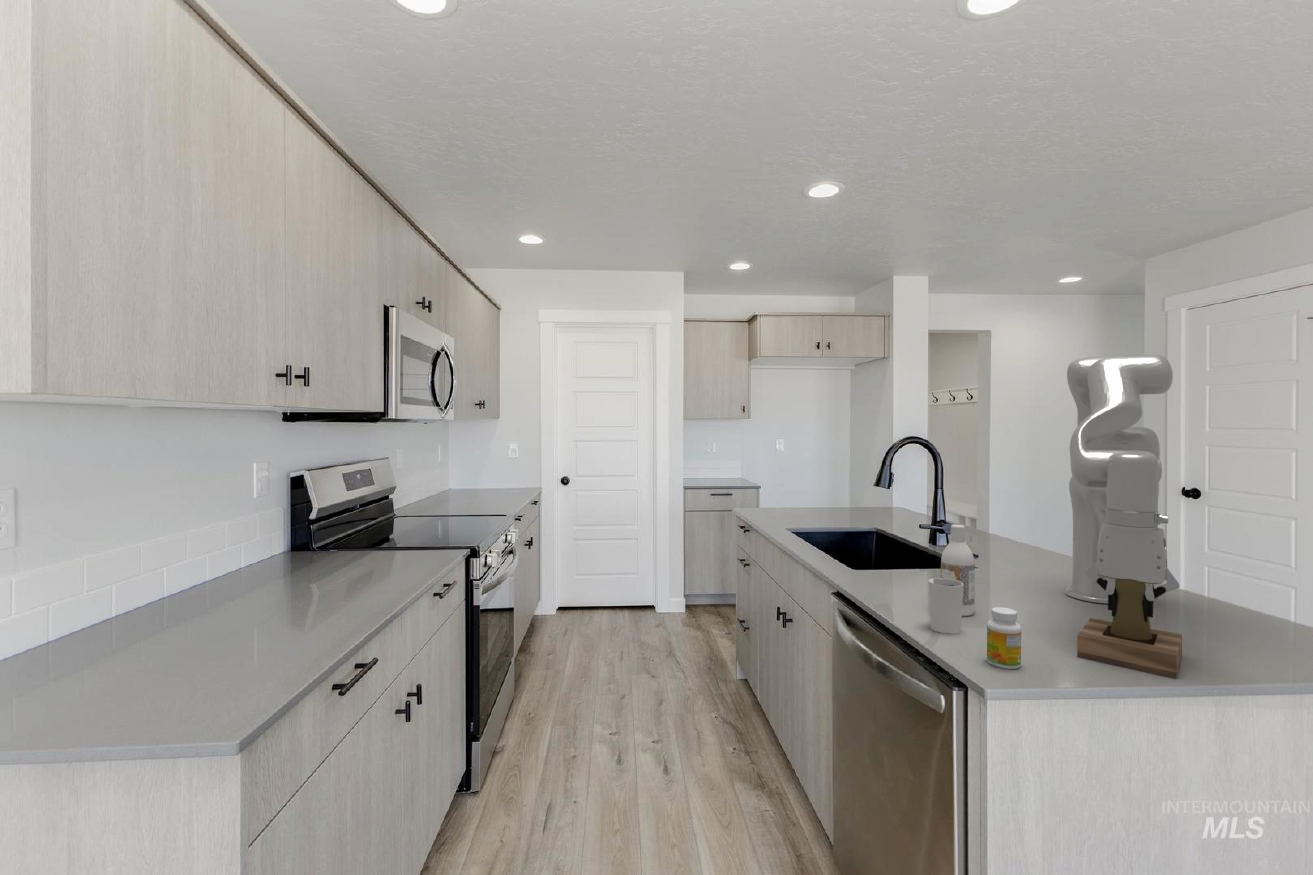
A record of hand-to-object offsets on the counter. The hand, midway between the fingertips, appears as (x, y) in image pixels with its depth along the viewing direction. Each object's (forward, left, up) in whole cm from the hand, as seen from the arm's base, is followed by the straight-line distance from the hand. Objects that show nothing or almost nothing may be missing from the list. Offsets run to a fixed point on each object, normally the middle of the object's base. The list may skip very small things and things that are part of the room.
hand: (1130, 616), depth 112 cm
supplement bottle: (+20, -16, -8) cm, 27 cm away
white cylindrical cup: (+8, -30, -8) cm, 32 cm away
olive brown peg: (0, 0, -3) cm, 3 cm away
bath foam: (-6, -32, -8) cm, 33 cm away
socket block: (0, 0, -7) cm, 7 cm away
